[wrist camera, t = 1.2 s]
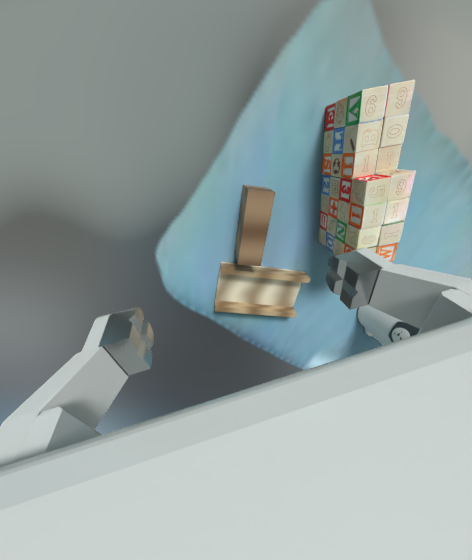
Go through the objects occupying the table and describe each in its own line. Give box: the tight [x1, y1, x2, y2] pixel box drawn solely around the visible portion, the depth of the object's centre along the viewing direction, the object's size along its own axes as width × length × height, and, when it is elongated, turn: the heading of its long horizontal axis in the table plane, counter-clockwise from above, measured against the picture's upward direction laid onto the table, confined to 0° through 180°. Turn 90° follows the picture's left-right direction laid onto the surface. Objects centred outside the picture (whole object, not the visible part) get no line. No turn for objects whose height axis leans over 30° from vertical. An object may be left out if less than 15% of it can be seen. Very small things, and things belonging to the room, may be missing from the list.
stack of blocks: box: [318, 80, 416, 262], centre depth 31 cm, size 21×6×12 cm, turn 9°
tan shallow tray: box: [214, 262, 311, 318], centre depth 44 cm, size 18×10×3 cm, turn 80°
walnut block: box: [235, 185, 275, 266], centre depth 36 cm, size 12×4×6 cm, turn 173°
